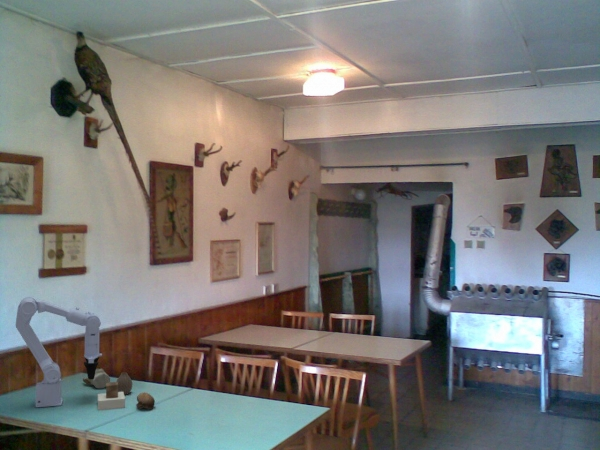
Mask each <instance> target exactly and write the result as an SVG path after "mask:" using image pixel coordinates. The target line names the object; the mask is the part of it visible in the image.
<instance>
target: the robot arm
mask: <svg viewBox="0 0 600 450" xmlns="http://www.w3.org/2000/svg"><path fill="white" fill-rule="evenodd" d="M45 312H47V313H50V314H53V315H56V316H61V317H64V318H65V320H66V321H67V322H68V323H72V324H75V325H77V326H82V327H85V331H84V354H83V358H84V359H85V361H84V362H83V365H84V367H85V369H86V373H87V378H88V379H94V377H95V371H96V369H97V368H98V365H99V363H100V362H99V359H100V357H102V356H103V353H100V326H101V320H100V317H99V316H98V315H97V314H95V313H92V312H90V311H88V312H87V311H84V310H81V309H80V307H71V308H70V309H69V308H64V307H62V306H59V305H57V304H54V303H51V302H49V301H45V300H44V299H43V300H42V299H39V298H33V297H31V296H27V297H25V298H23V299H22V300H20V303H19V305H18V307H17V311H16V319H15V328H16V330H17V331H18V333H19V335H20V337H21V338H22V339H23V341H24V343H25V345H26V346H27V347H28V349H29V350H30V352H31V354H32V355H33V357H34V359H35V360H36V362H37V364H38V365H39V367H40V369H41V371H42V373H43V379H42V381H40V382H36V384H35V385H36V386H35V398H34V399H35V400H34V401H35V408H46V407H47V408H48V407H57V406H59V407H60V406H62V404H63V400H64V398H62V378H61V377H62V373H61V369H60V368H61V367H60V366H59V364H58V363H56V362H54V361H53V359H52V357H51V356H50V355H49V353H48V352H47V350H46V349H45V347H44V345H43V343H42V342H41V341H40V338H39V337H38V336H37V334H36V332H35V331H34V329H33V328H32V326H31V324H30V323H31V321H32V318H33V316H34V315H35V314H36V313H38V314H41V313H45Z"/></svg>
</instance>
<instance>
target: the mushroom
mask: <svg viewBox="0 0 600 450" xmlns="http://www.w3.org/2000/svg"><path fill="white" fill-rule="evenodd" d="M136 401H137V403H136V404H135V406H136V408H137V409H143V408H144V409H147V410H152V409H153V408H154V406H155V398H154V397H153V396H152V395H151V394H150V393H148V392H141V393H139V394H138V395H136Z"/></svg>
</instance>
